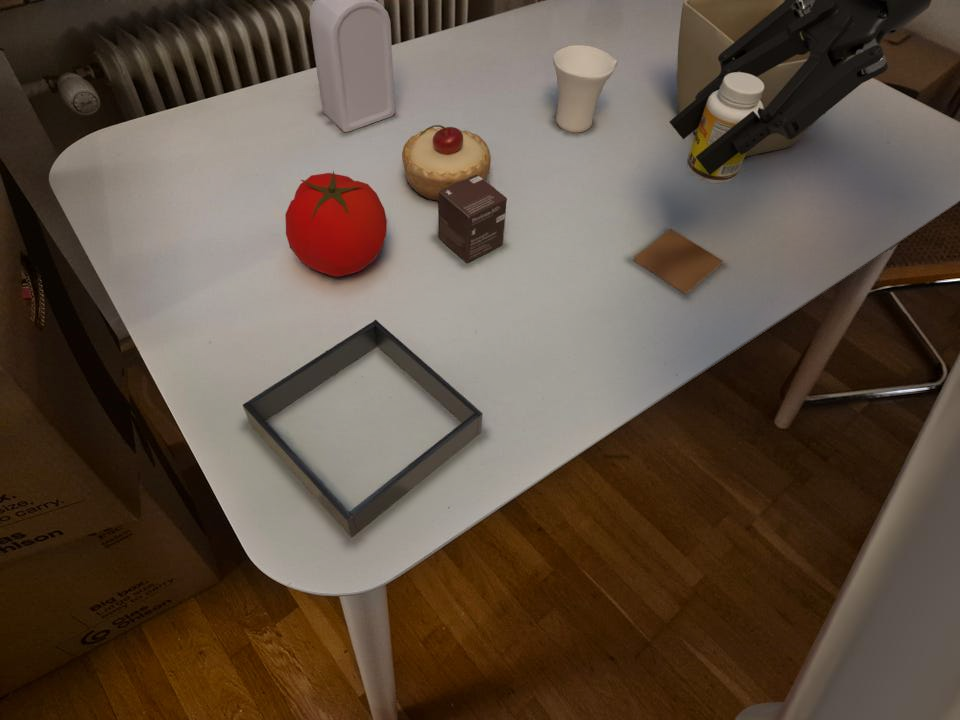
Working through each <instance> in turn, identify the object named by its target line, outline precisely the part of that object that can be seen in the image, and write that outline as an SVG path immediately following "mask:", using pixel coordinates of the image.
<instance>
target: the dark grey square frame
mask: <svg viewBox="0 0 960 720" xmlns="http://www.w3.org/2000/svg"><path fill="white" fill-rule="evenodd" d="M375 348H379V349H380V350H381V351H382V352H383V353H384V354H385V355H386V356H388V358H389V359H391V360H392V361H393V362H394V363H395V364H396V365H397V366H399V367H400V368H401V369H402V370H403V371H404V372H405V373H406V374H407V375H408V376H409V377H411V378H412V379H413V380H414V381H415V382H416V383H417V384H418V385H420V386H421V387H422V388H423V389H424V390H425V391H426V392H428V394H430V395H431V396H432V397H433V398H434V399H435V400H436V401H437V402H438V403H440V404H441V405H442V406H443V407H444V408H445V409H446V410H448V411H449V413H451V414H452V415H453V416H454V417H455V418H456V419H458V420H459V421H460V422H461V423H460V424H459V425H457V426H456V427H455V428H454V429H452V430H451V431H450V432H449V433H447V434H446V435H444V436H443V437H442V438H441V439H440V440H438V441H437V442H436V443H435V444H433V445H432V446H431V447H430V448H428V449H427V450H426V451H424V452H423V453H422V454H421V455H419V456H418V457H417V458H416V459H414V460H413V461H412V462H410V463H409V464H408V465H406V467H404V468H403V469H402V470H400V471H399V472H397V474H395V475H394V476H393V477H392V478H390V479H389V480H388V481H386V482H385V483H384V484H382V485H381V486H380V487H379V488H377V489H376V490H375V491H373V493H371V494H370V495H369V496H367V497H366V498H365V499H363V500H362V501H361V502H360V503H359V504H357V505H356V506H355V507H354V508H352V509H351V510H350V511H349V510H348V509H347V508H346V507H345V506H344V505H343V504H342V503H341V501H340V500H338V498H337V497H336V496H335V495H334V494H333V493H332V492H331V491H330V490H329V489H328V487H327V486H326V485H325V484H324V483H323V482H322V481H321V479H320V478H319V477H318V476H317V475H316V474H315V473H314V472H313V471H312V470H311V469H310V468H309V467H308V466H307V464H306V463H304V461H303V460H302V459H301V458H300V457H299V456H298V455H297V453H296V452H295V451H294V450H293V449H292V448H291V447H290V446H289V445H288V444H287V443H286V442H285V441H284V439H283V437H281V436H280V435H279V434H278V433H277V432H276V430H274V428H273V427H272V426H271V425H270V424H269V423H268V422H267V420H268V419H270V418H271V417H273V416H274V415H277V413H279V412H280V411H282V410H284V408H285V409H286V407H288V406H290V405H291V404H292V403H294V402H295V401H297V400H298V399H300V398H301V397H303V396H305V395H306V394H308V393H309V392H310V391H312V390H313V389H315V388H317V387H318V386H320V385H321V384H323V383H324V382H326V381H327V380H329V379H331V378H332V377H333V376H335V375H336V374H338V373H339V372H340V371H342V370H344V369H345V368H346V367H349V366H350V365H352V364H353V363H355V361H357V360H360V358H362V357H363V356H365V355H367V354H368V353H370V352H372V351H373V350H374V349H375ZM242 408H243V410H244V413H245V415H246V418H247V420H248V422H249V425H250V427H252V429H253V430H254V431H255V432H256V433H257V434H258V435H259V436H260V438H262V440H263V441H264V442H265V443H266V444H267V445H268V446H269V447H270V448H271V450H272V451H273V452H274V453H275V454H276V455H277V457H279V459H280V460H281V461H282V462H283V463H284V464H285V465H286V466H287V468H288V469H289V470H290V471H291V472H292V473H293V474H294V475H295V476H296V477H297V479H298V480H299V481H300V482H301V483H302V485H304V486H305V488H306V489H307V490H308V491H309V492H310V494H312V496H313V497H314V498H315V499H316V500H317V501H318V502H319V503H320V505H322V507H323V508H324V509H325V510H326V511H327V512H328V513H329V515H331V516H332V518H333V519H334V520H335V521H336V522H337V523H338V525H340V526H341V527H342V529H343V530H344V531H345V532H346V533H347V534H348V535H349V537H350V538H353V537H354V536H356V535H357V534H358V533H359V532H361V531H362V530H363V529H365V528H366V527H367V526H368V525H369V524H370V523H372V522H373V521H374V520H376V519H377V518H378V517H379V516H381V515H382V514H383V513H384V512H385V511H386V510H388V509H389V508H390V507H392V506H393V505H394V504H395V503H396V502H397V501H399V500H400V499H401V498H402V497H404V496H405V495H406V494H407V493H409V492H410V491H411V490H412V489H413V488H415V487H416V486H417V485H418V484H420V483H421V482H422V481H423V480H425V479H426V478H427V477H428V476H429V475H431V474H432V473H433V472H434V471H436V470H437V469H438V468H439V467H441V466H442V465H443V464H444V463H446V461H448V460H450V458H451V457H452V456H454V455H455V454H457V453H458V452H459V451H460V450H462V448H464V447H465V446H466V445H468V444H469V443H470V442H471V441H473V440H474V439H475V438H476V437H477V436H479V434H481V433H482V425H483V423H482V422H483V414H484V413H483V412H482V411H481V410H480V409H478V408H477V407H476V406H475V405H474V404H473V403H472V402H470V401H469V400H468V399H467V398H466V397H465V396H464V395H463V394H462V393H460V392H459V391H458V390H456V389H455V387H453V386H452V385H451V384H450V383H449V382H447V381H446V380H445V379H444V378H443V377H442V376H441V375H440V374H439V373H437V372H436V371H435V370H434V369H433V368H431V367H430V366H429V365H428V364H427V363H426V362H425V361H423V359H421V358H420V357H419V356H418V355H417V354H416V353H414V352H413V350H411V349H410V348H409V347H408V346H406V345H405V344H404V343H403V342H402V341H400V339H399V338H398V337H396V335H394V334H393V333H392V332H391V331H389V330H388V329H387V328H386V327H385V326H384V325H383V324H382V323H380V322H379V321H378V320H377V319H375V320H373V321H372V322H370V323H368V324H367V325H365V326H364V327H362V328H361V329H359V330H357V331H356V332H354V333H352V334H351V335H349V336H348V337H346V338H344V339H343V340H342V341H340V342H338V343H337V344H335V345H334V346H332V347H330V348H329V349H328V350H326V351H325V352H323V353H321V354H319V355H318V356H316V357H315V358H313V359H311V360H310V361H309V362H307V363H305V364H304V365H303V366H301V367H299V368H298V369H296V370H294V371H293V372H291V373H290V374H288V375H287V376H285V377H284V378H282V379H281V380H279V381H277V382H275V383H274V384H273V385H271V386H269V387H268V388H266V389H265V390H263V391H262V392H260V393H259V394H257V395H255V396H254V397H252V398H251V399H249V400H248V401H246V402H244V403H243V404H242Z"/></svg>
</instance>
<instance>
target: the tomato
mask: <svg viewBox="0 0 960 720" xmlns="http://www.w3.org/2000/svg"><path fill="white" fill-rule="evenodd" d="M300 182H301V183H300V184H299V185H298V187H297V188H296V190H295V192H294V198H293V199H292V200H291V201H290V202H289V205H288V207H287V209H286V211H285V236H286V239H287V242H288V243H287V244H288V245H289V248H290V250H291V251H292V252H293V253H294V254H295V257H297V258H298V260H300V261H301V262H302V263H304V264H305V265H306V266H307V267H309V268H311V269H313V270H314V271H317V272H319V273H322V274H326V275H328V276H331V277H344V276H348V275H351V274H354V273H358V272H360V271H362V270H363V269H364V268H366V267H367V266H368V265H370V264H371V263H372V262H373V261H374V260H375V259H376V258H377V256H379V253H380V252H381V250H382V248H383V245H384V242H385V239H386V237H387V229H388V225H387V224H388V220H387V215H386V209H385V207H384V205H383V203H382V202H381V199H380V197H379V196H378V193H377V191H375V190H374V189H373V188H372V187H371V185H370V184H368V183H367V182H364V181H363V182H362V181H360V180H354V179H353V178H351V177H350V176H348V175H343V174H338V173H335V170H332V172H325V173H319V174H312V175H310V176H309V177H308V178H306V179H305V180H304V179H300Z"/></svg>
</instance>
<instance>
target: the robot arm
mask: <svg viewBox="0 0 960 720" xmlns="http://www.w3.org/2000/svg"><path fill="white" fill-rule="evenodd" d="M931 3H932V0H785V1H784V2H783V3H782V4H781V5H780V6H779V7H777V8H776V9H775V10H774V11H772V12H771V13H770V14H769V15H768V16H766V17H765V18H764V19H763V20H761V21H760V22H759V23H758V24H756V25H755V26H754V27H753V28H752V29H750V30H749V31H748V32H747V33H745V34H744V35H743V36H742V37H741V38H739V39H738V40H737V41H736V42H734V43H733V44H732V45H731V46H729V47H728V48H727V49H726V50H725V51H723V52H722V53H721V54H720V55H719V57H718V61H719V62H720V65H721V73H720V74H719V76H718V77H716V78H715V79H714V80H713V81H712V82H711V83H709V84H708V85H707V86H706V87H705V88H703V89H702V90H701V91H700V92H699V93H698V94H697V95H696V97H695V98H696V100H694V101H693V102H692V103H691V104H690V105H688V106H687V107H686V108H685V109H684V110H682V111H681V112H680V113H679V112H678V113H677V115H675V116H674V117H673V118H672V119H671V120H669V121H668V123H669V124H670V125H671V126H672V127H673V129H674V130H675V131H676V133H677V134H678V135H679V137H681V139H682V140H685V139H686V138H687V137H689V136H690V135H691V134H693V132H694V131H695V130H696V129H697V128H698V127H699V124H700V121H701V118H702V115H703V112H704V109H705V106H706V103H707V100H708V98H709V96H710V95H711V94H712V93H713V92H715V91H717V90H719V89H720V86H721V84H722V82H723V79H724V77H725V76H726V75H727V74H730V73H734V72H739V71H740V72H742V73H747V74H751V75H753V76H755V77H758V76H759V75H761V74H763V73H765V72H766V71H768V70H770V69H772V68H774V67H775V66H777V65H779V64H781V63H783V62H784V61H786V60H788V59H790V58H791V57H793V56H795V55H804V54H806V53H808V52H810V51H811V52H810V56H809V58H808V59H807V60H806V62H805V63H804V64H803V65H802V66H801V67H800V69H799V70H798V71H797V72H796V73H795V74H794V76H793V77H792V78H791V79H790V80H789V81H788V83H787V84H786V85H785V86H784V87H783V88H782V90H781V91H780V92H779V93H778V94H777V95H776V96H775V98H774V99H773V100H772V101H771V102H770V103H769V105H768V106H767V107H766V108H765V109H762V108H759V109H758V115H759V116H760V119H759V118H758V116H757V115H756V113H755V112H754V111H752V112H751V113H750V114H748V115H747V116H746V117H745V118H743V119H742V120H741V121H740V122H738V123H737V124H736V125H735V126H733V127H732V128H731V129H730V130H728V131H727V132H726V133H725V134H723V135H722V136H721V137H720V138H718V139H717V140H716V141H715V142H713V143H712V144H711V145H710V146H708V147H707V148H706V149H705V150H703V151H702V152H701V153H700V154H698V155H697V156H696V158H697V160H698V161H699V162H700V163H701V165H702V166H703V167H704V168H705V170H706V171H707V172H708V173H709V175H710V174H712V173H713V172H714V171H716V170H717V169H718V168H719V167H721V166H722V165H723V164H725V163H726V162H727V161H728V160H730V159H731V158H732V157H734V156H735V155H736V154H737V153H740V154H741V155H742V154H744V153H746V152H748V151H749V150H750V149H751V148H753V147H754V146H755V145H757V144H758V143H759V142H761V141H762V140H763V139H765V138H766V137H767V136H769V135H770V134H775V133H777V134H780V135H782V136H784V137H785V138H786V139H787V140H791V139H793V138H795V137H796V136H797V135H799V134H800V133H801V132H802V131H804V130H805V129H806V128H807V127H808V126H810V125H811V124H812V123H813V122H815V121H816V120H817V119H818V118H819V119H820V118H821V117H822V116H824V115H825V114H826V113H827V112H829V111H830V110H831V109H832V108H833V107H835V106H836V105H837V104H838V103H840V102H841V101H842V100H843V99H845V98H846V97H847V96H848V95H850V93H852V92H853V91H855V89H857V88H858V87H859V86H861V85H862V84H864V83H866V82H868V81H870V80H871V79H873V78H876V77H879V76H880V75H882V74H884V73H885V72H886V71H887V70H888V68H889V64H888V62H887V58H886V55H885V53H884V50H883V47H882V46H881V45H880V44H881V43H882V41H883V40H884V38H885V37H886V36H887V34H888V35H892V34H896V33H898V32H899V31H901V30H902V29H903V28H904V27H906V26H907V25H908V24H910V23H911V22H912V21H913V20H915V19H916V18H917V17H918V16H920V15H922V14H923V13H924V12H925V11H926V10H928V9H929V8H930V7H931ZM800 32H802V33H801V34H802V36H803V38H804V40H803V39H802V37H801V35H800ZM853 55H855V56H854V57H852V58H850V59H849V60H847V61H846V62H845V63H844V61H845V60H846V59H847V58H848V57H849V56H853ZM733 58H734V60H733ZM819 119H818V120H819ZM818 120H817V121H818ZM817 121H816V122H817ZM816 122H815V123H816ZM812 643H813V644H812V645H811V647H810V649H809V650H808V653H807V655H806V657H805V660H804V661H803V663H802V665H801V667H800V669H799V671H798V673H797V675H796V677H795V679H794V681H793V683H792V685H791V687H790V689H789V691H788V693H787V695H786V697H785V699H784V701H773V702H772V701H771V702H760V703H757V704H753V705H750V706H748V707H746V708H744V709H742V710H741V711H740V712H739V713H738V714H737V715H736V716H735V718H734V720H960V352H959V353H958V355H957V357H956V358H955V361H954V363H953V365H952V367H951V369H950V371H949V373H948V375H947V376H946V380H945V381H944V383H943V385H942V387H941V388H940V391H939V393H938V395H937V397H936V399H935V401H934V403H933V404H932V407H931V408H930V410H929V413H928V415H927V417H926V418H925V421H924V423H923V425H922V426H921V429H920V431H919V433H918V435H917V437H916V439H915V440H914V442H913V445H912V447H911V448H910V450H909V453H908V455H907V456H906V458H905V460H904V462H903V464H902V466H901V469H900V470H899V473H898V474H897V476H896V478H895V480H894V482H893V484H892V486H891V488H890V490H889V492H888V494H887V497H885V500H884V502H883V504H882V506H881V508H880V510H879V512H878V514H877V516H876V518H875V520H874V522H873V524H872V525H871V528H870V530H869V532H868V534H867V536H866V538H865V540H864V542H863V543H862V546H861V547H860V550H859V551H858V553H857V556H856V557H855V559H854V562H853V564H852V565H851V568H850V570H849V572H848V573H847V576H846V578H845V579H844V582H843V583H842V586H841V588H840V590H839V592H838V594H837V595H836V598H835V600H834V601H833V603H832V605H831V607H830V609H829V612H828V614H827V616H826V618H825V619H824V621H823V624H822V625H821V628H820V629H819V631H818V633H817V635H816V637H815V639H814V641H813V642H812Z"/></svg>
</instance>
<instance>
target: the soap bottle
mask: <svg viewBox="0 0 960 720" xmlns="http://www.w3.org/2000/svg"><path fill="white" fill-rule="evenodd" d="M309 28H310V34H311V39H312V40H311V41H312V45H313V46H312V48H313V54H314V61H315V67H316V74H317V81H318V88H319V95H320V103H321V109H322V112H323V113H324V114H325V116H327V117H328V118H329V119H330V120H331V121H332V122H333V123H334V124H335V125H336V126H337V127H338V128H339V129H340V130H341V131H342V132H343V133H349V132H351V131H354V130H357V129H360V128H364V127H365V126H369V125H371V124H374V123H377V122H380V121H383V120H385V119H388V118H391V117H393V116H394V115H395V113H396V107H395V106H396V104H395V103H396V102H395V85H394V84H395V83H394V64H393V46H392V27H391V19H390V16H389V12H388V11H387V9H385V7H384V6H383V5H382V4H381V3H379V2H378V1H377V0H313V2H312V5H311V7H310V8H309Z"/></svg>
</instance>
